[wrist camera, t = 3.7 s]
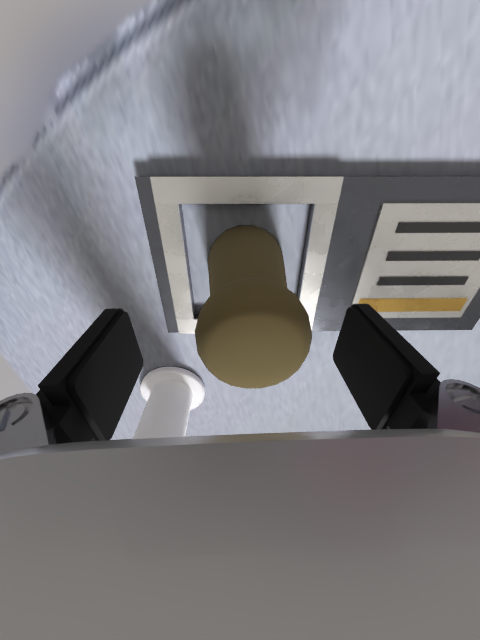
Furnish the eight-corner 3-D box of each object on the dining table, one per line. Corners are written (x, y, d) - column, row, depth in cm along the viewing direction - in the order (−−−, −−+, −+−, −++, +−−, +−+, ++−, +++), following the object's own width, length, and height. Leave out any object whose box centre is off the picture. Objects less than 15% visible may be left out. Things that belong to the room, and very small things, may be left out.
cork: (285, 292, 20) (329, 400, 10) (216, 303, 20) (200, 415, 11) (280, 218, 16) (338, 278, 7) (199, 232, 17) (153, 307, 8)
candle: (154, 409, 28) (-85, 1103, 7) (132, 369, 24) (-518, 1608, 3) (210, 404, 28) (131, 1122, 7) (197, 362, 24) (-77, 1719, 3)
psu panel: (561, 176, 15) (582, 176, 14) (464, 324, 22) (474, 331, 21) (139, 176, 15) (132, 176, 14) (170, 327, 21) (167, 334, 20)
